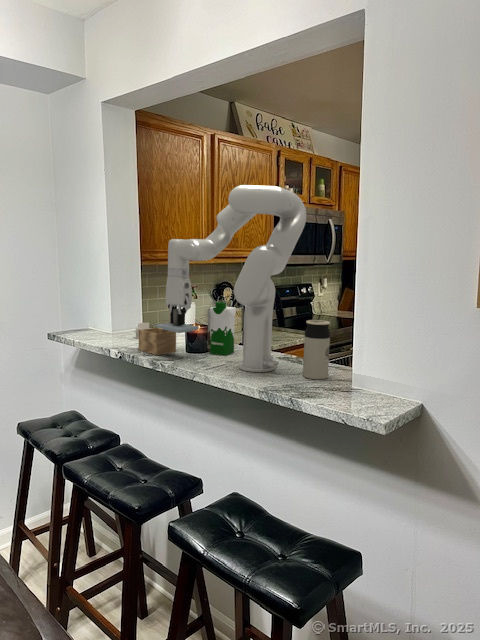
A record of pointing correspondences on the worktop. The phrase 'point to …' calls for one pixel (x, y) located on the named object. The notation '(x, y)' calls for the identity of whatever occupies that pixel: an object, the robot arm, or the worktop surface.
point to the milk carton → (222, 329)
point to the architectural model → (141, 328)
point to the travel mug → (316, 350)
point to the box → (157, 341)
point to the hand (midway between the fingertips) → (177, 323)
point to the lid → (175, 327)
